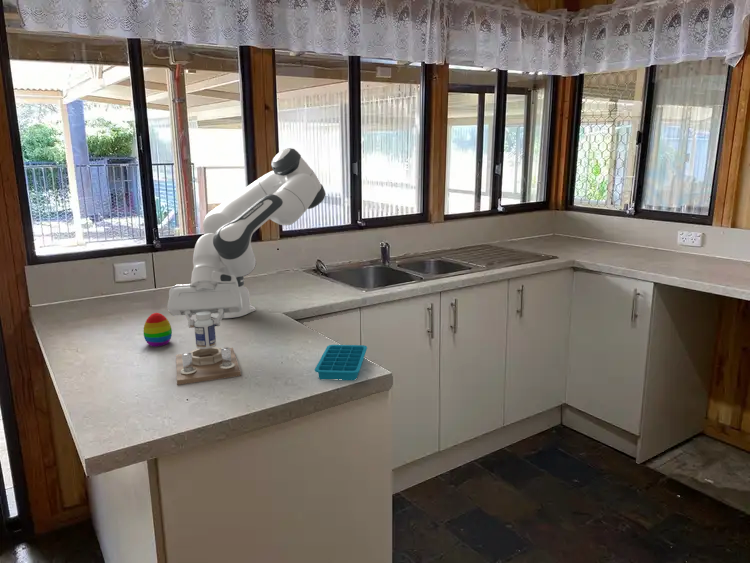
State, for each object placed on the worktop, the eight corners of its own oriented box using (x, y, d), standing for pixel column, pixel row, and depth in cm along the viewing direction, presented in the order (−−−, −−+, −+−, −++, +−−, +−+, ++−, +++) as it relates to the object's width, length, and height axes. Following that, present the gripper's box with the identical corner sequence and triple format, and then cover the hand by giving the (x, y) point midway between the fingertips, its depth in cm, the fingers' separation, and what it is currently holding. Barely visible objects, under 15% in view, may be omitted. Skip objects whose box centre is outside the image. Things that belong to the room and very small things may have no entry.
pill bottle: (214, 342, 160) (211, 309, 158) (218, 347, 155) (215, 313, 153) (194, 345, 157) (191, 312, 155) (198, 350, 153) (195, 316, 150)
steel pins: (180, 370, 149) (178, 352, 148) (233, 362, 154) (232, 345, 153) (180, 375, 146) (178, 357, 144) (235, 368, 150) (234, 350, 149)
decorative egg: (178, 341, 176) (175, 311, 173) (156, 349, 169) (153, 318, 167) (161, 338, 180) (157, 308, 177) (139, 345, 173) (135, 314, 171)
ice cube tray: (314, 382, 144) (313, 371, 143) (328, 354, 164) (328, 344, 163) (358, 383, 143) (358, 372, 142) (367, 355, 162) (367, 345, 162)
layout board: (176, 358, 161) (175, 348, 160) (233, 351, 166) (232, 341, 166) (177, 384, 143) (176, 373, 142) (240, 375, 148) (240, 364, 147)
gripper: (167, 279, 158) (162, 322, 150) (240, 276, 160) (239, 318, 153) (172, 291, 163) (168, 333, 156) (243, 287, 165) (242, 329, 158)
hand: (204, 326), depth 154 cm, fingers closed on pill bottle, 5 cm apart
